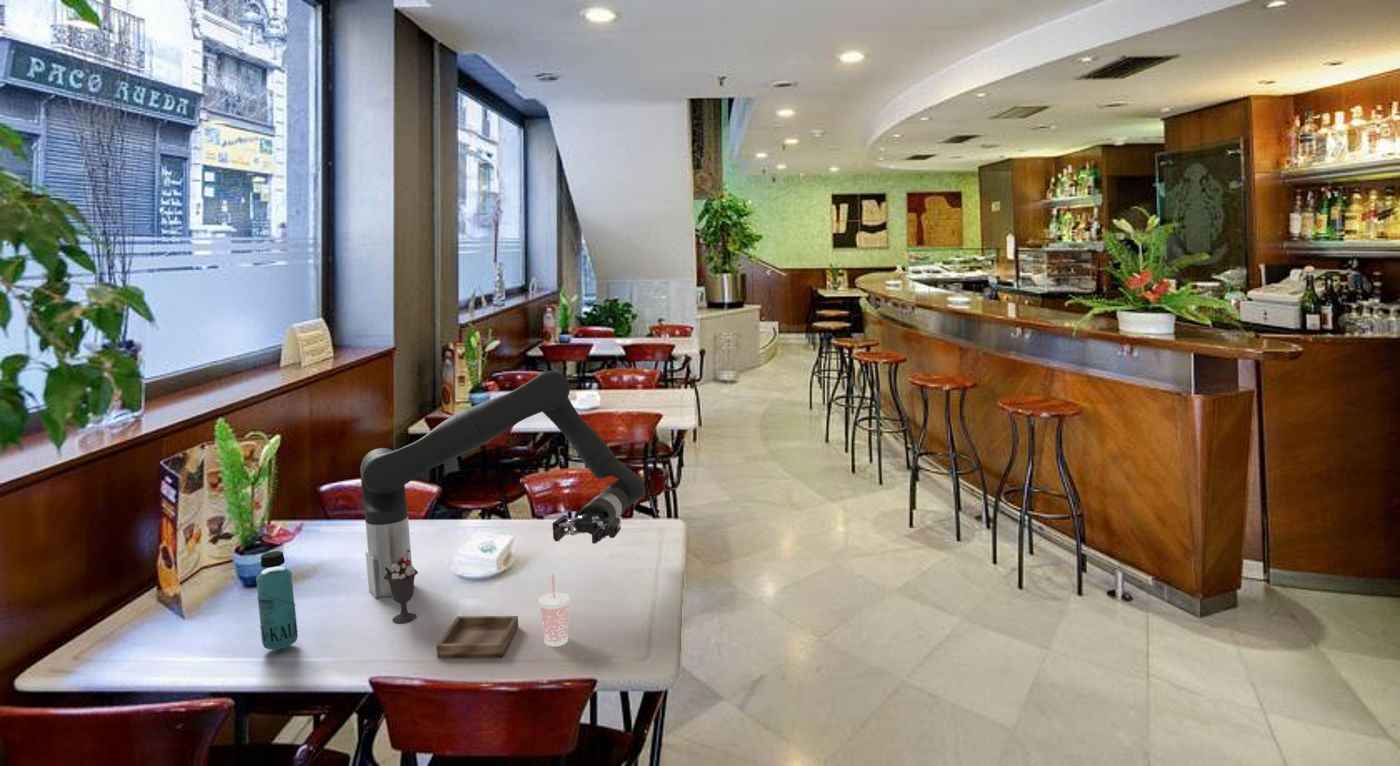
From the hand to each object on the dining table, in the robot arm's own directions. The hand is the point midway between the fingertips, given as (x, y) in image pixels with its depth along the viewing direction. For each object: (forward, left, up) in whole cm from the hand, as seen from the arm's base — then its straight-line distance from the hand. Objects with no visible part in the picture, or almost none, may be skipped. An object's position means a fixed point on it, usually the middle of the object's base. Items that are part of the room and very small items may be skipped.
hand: (574, 538), depth 168 cm
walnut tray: (-21, +2, -17) cm, 28 cm away
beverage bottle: (-53, +24, -18) cm, 61 cm away
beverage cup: (-9, -7, -18) cm, 21 cm away
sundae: (-30, +23, -18) cm, 41 cm away
